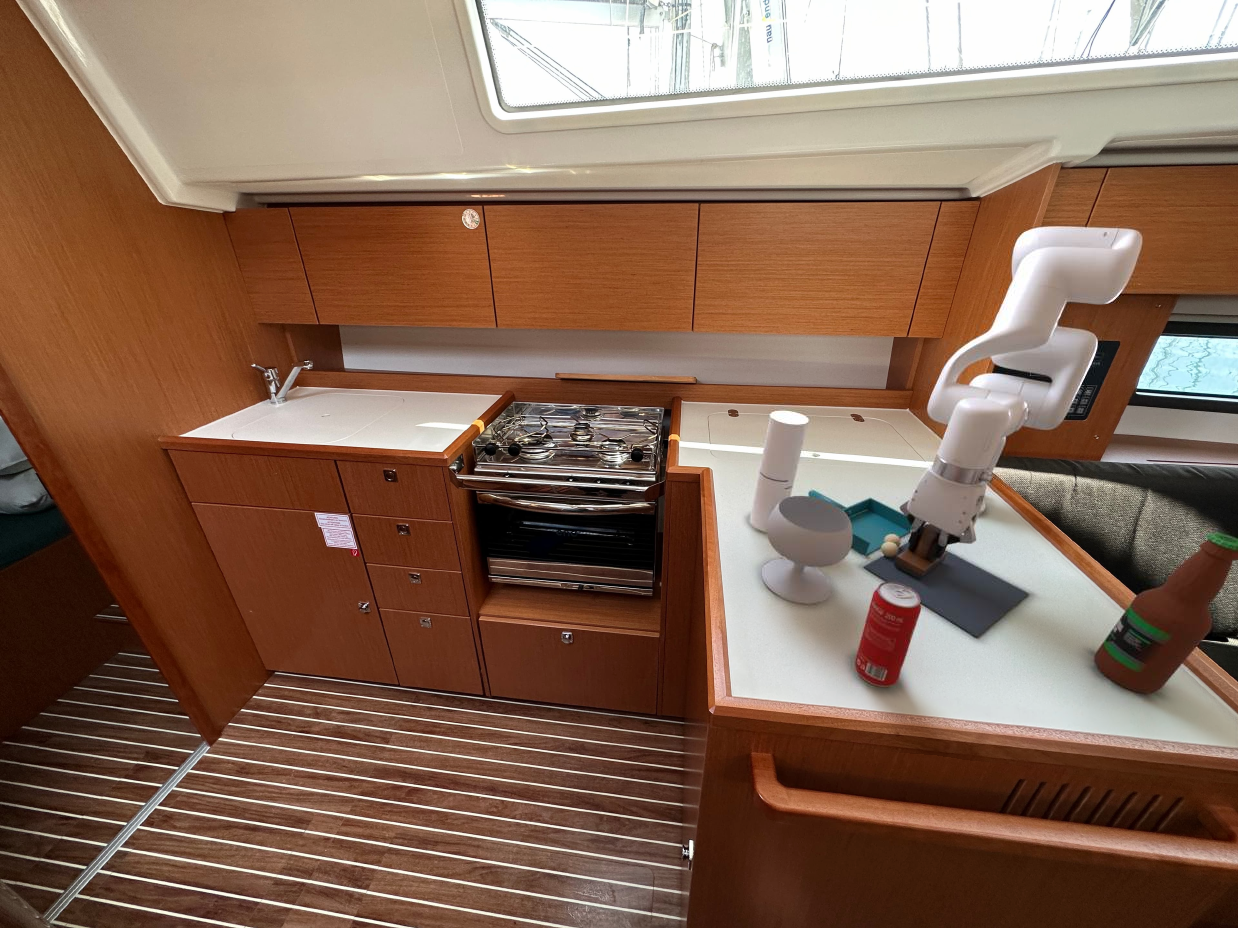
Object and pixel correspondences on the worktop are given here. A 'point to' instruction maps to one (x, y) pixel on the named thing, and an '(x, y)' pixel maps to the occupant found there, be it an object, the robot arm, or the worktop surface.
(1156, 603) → the bottle
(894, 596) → the beverage can
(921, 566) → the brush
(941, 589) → the mat
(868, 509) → the dustpan
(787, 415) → the cylindrical container
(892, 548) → the crumb
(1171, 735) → the worktop surface
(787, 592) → the chalice
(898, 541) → the crumb
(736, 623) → the worktop surface
